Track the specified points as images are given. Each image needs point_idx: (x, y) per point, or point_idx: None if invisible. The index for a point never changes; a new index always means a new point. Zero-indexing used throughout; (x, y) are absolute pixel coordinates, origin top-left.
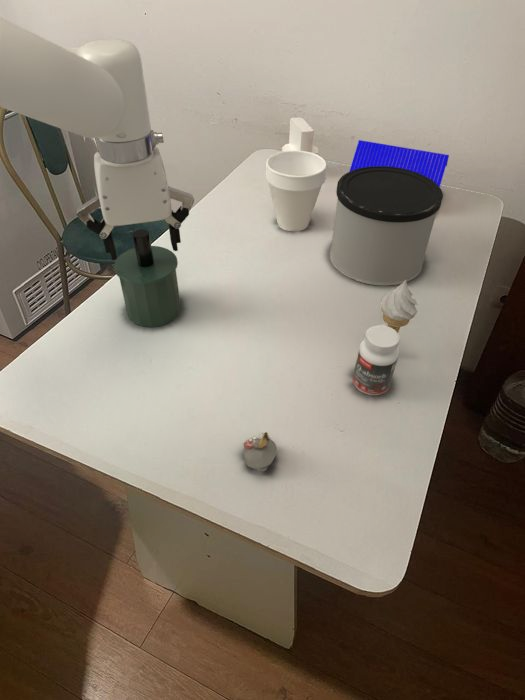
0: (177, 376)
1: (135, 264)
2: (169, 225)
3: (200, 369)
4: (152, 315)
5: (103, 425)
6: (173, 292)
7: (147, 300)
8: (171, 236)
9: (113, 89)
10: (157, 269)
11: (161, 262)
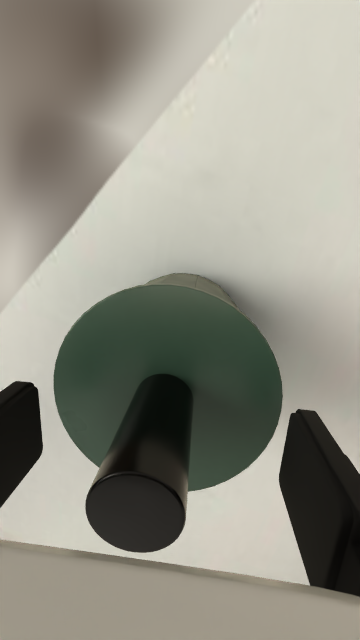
0: None
1: (126, 397)
2: (333, 559)
3: (226, 504)
4: None
5: (71, 541)
6: None
7: None
8: (303, 562)
9: None
10: (196, 448)
11: (219, 416)
